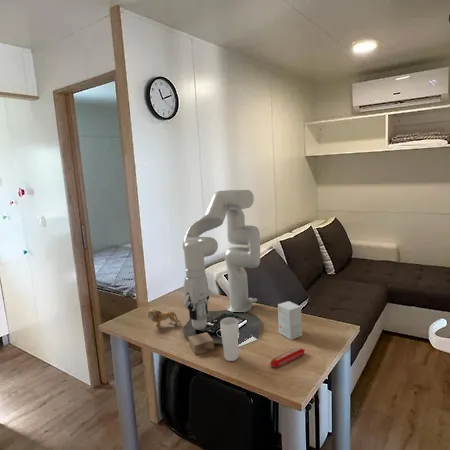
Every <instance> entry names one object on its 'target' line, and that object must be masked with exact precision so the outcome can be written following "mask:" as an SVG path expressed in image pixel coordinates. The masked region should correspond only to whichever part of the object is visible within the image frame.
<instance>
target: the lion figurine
mask: <svg viewBox="0 0 450 450" xmlns="http://www.w3.org/2000/svg"><path fill="white" fill-rule="evenodd" d="M147 318H148V320H150V321H152V322H153V323H156V324H155V327H156V328H157V329H161V322H162V321H166V320H168V319H169V320H170V322H168V324H169V325H171V324H172V323H173V322H174V326H175V327H177V326H178V325H179V324H178V323H181V320H179V319H178V316H177V315H176V313H175V312H174V311H172V310H171V311H170V310H169V311H166V312H161V311H160V310H156V309H150V310H148V311H147Z"/></svg>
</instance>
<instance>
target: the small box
mask: <svg viewBox="0 0 450 450" xmlns="http://www.w3.org/2000/svg"><path fill="white" fill-rule="evenodd" d="M277 315H278V318H277V319H278V321H277V322H278V334H281V335H283V337H285V338H287V339H289V340H290V341H291V340H295V339H297V338H300V337H302V336H303V323H302V321H303V320H302V306H300V305H298V304H296V303H294V302H291V301H290V300H289V301H283V302H282V303H278V304H277Z"/></svg>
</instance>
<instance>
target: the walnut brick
mask: <svg viewBox="0 0 450 450" xmlns="http://www.w3.org/2000/svg"><path fill="white" fill-rule="evenodd" d="M214 341H215V340H214V339H213V337H211V335H210V334H209V333H208V332H207V331H206V332H203V333H199V334H194V335H190V336H188V346H189V348H190V349H191V351H192V353H193V354H194V355H199V354H204V353H208V352H210V351H214V350H215V344H214V343H215V342H214Z"/></svg>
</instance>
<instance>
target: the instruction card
mask: <svg viewBox="0 0 450 450" xmlns="http://www.w3.org/2000/svg"><path fill="white" fill-rule="evenodd" d="M251 336H252V337H251V338H249V339H247V338H246V339H247V340H246V339H244V340H246V341H244V342H242V343H241V344H239V345H238V348H240V347H243V346H245V345H248V344H250V343H253V342H255V341H257V340H258V339H257V338H256V337H255V336H253V335H251Z"/></svg>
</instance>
